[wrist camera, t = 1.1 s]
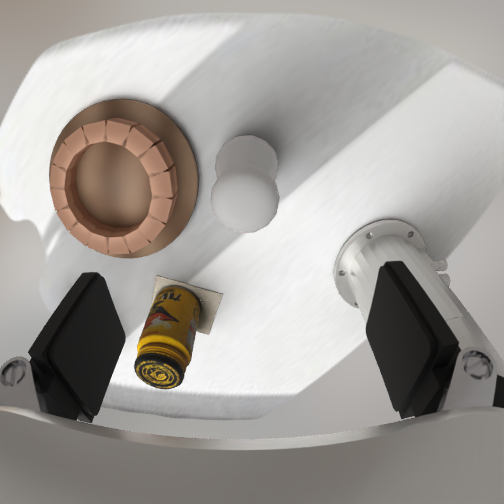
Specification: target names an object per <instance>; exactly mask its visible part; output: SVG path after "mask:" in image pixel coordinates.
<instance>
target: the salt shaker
mask: <svg viewBox="0 0 504 504" xmlns="http://www.w3.org/2000/svg"><path fill="white" fill-rule="evenodd" d="M278 165H279V164H278V160H277V156H276V152H275V150H274V149H273V148H272V147H271V146H270V145H269V144H268V143H267V142H266V141H265V140H263V139H260V138H258V137H255V136H253V135H247V136H237V137H235V138H233V139H231V140H230V141H228V142H226V143H225V144H224V145H223V146H222V148H221V149H220V151H219V152H218V154H217V157H216V164H215V171H216V174H217V178H218V179H217V181H216V182H215V184H214V186H213V187H212V194H211V206H212V209H213V212H214V214H215V217H216V219H217V220H218V221H219V222H220V223H221V224H222V225H223V226H224V227H225V228H227V229H230V230H233V231H236V232H238V233H250V232H256V231H258V230H260V229H262V228H264V227H266V226H267V225H268V224H269V223H270V222H271V220H272V219H273V218H274V217H275V215H276V213H277V208H278V203H279V198H280V197H279V193H278V189H277V186H276V183H275V180H276V177H277V171H278Z"/></svg>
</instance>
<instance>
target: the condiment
mask: <svg viewBox="0 0 504 504" xmlns="http://www.w3.org/2000/svg"><path fill="white" fill-rule="evenodd" d="M222 295H223V294H220V293H215V292H213V291H208V290H205V289H201V288H197V287H194V286H191V285H188V284H185V283H181V282H178V281H174V280H171V279H167V278H164V277H160V276H156V282H155V288H154V294H153V300H152V306H151V309H150V312H149V314H148V317H147V320H146V322H145V326H144V328H143V331H142V334H141V336H140V339H139V342H138V345H137V351H138V354H137V359H136V361H135V364H134V369H135V372H136V374H137V376H138V377H139V378H140V379H141V380H142V381H143V382H145V383H146V384H148V385H151V386H153V387H155V388H159V389H171V388H175V387H177V386H179V385H180V384H181V383H182V381H183V379H184V373H185V371H186V367H187V366H188V365H189V363H190V361H191V357H192V351H193V345H194V340H195V335H196V331H198V332H200V333H204V334H208V335H209V333H210V330H211V327H212V324H213V321H214V318H215V315H216V311H217V309H218V306H219V303H220V301H221V298H222ZM200 299H201V300H202V301H203V302H204V304H203V303H202V301H200Z"/></svg>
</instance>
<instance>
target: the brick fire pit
mask: <svg viewBox="0 0 504 504" xmlns="http://www.w3.org/2000/svg"><path fill="white" fill-rule="evenodd" d="M49 180H50V191H51V195H52V199H53V203H54V207H55V210H57V211H58V212H56V213H57V215H58V216H59V218H60V219H61V221H62V223H63V224H64V226H65V227H66V229H67V230H68V231H69V230H70V234H72V235H73V236H74V237H75V238H76V239H78V240H79V241H80V242H81V243H83V244H84V245H85V246H88V247H89V248H91V249H94V250H96V251H98V252H100V253H103V254H105V255H109V256H112V257H118V258H139V257H143V256H148V255H150V254H153V253H156V252H158V251H160V250H161V249H163V248H165V247H166V246H168V245H169V244H170V243H171V242H173V241H174V240H175V239H176V238H177V237H178V236H179V234H180V233H181V232H182V230H183V229H184V228H185V226H186V224H187V222H188V220H189V219H190V216H191V214H192V211H193V209H194V206H195V203H196V198H197V193H198V170H197V164H196V160H195V157H194V153H193V151H192V148H191V146H190V144H189V142H188V140H187V138H186V137H185V135H184V133H183V132H182V131H181V129H180V128H179V127H178V126H177V124H176V123H175V122H174V121H173V120H172V119H170V118H169V117H168V116H167V115H166V114H164V113H163V112H161V111H160V110H158V109H157V108H155V107H153V106H151V105H148V104H146V103H142V102H139V101H134V100H127V99H120V100H109V101H103V102H100V103H97V104H94V105H92V106H90V107H88V108H86V109H84V110H83V111H81V112H80V113H78V114H77V115H76V116H75V117H74V118H73V119H72V120H70V121H69V123H68V124H67V125H66V126H65V128H64V129H63V130H62V132H61V134H60V135H59V137H58V139H57V141H56V143H55V146H54V149H53V152H52V155H51V161H50V169H49Z"/></svg>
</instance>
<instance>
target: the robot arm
mask: <svg viewBox="0 0 504 504" xmlns="http://www.w3.org/2000/svg"><path fill="white" fill-rule="evenodd" d="M367 233H368V234H367ZM446 269H447V261H446V260H436V261H433V260H432V259H431V258H430V257H429V256H428V255H427V250H426V246H425V242H424V240H423V238H422V237H421V235H420V234H419V233H418V232H417V231H416V230H415V229H414V228H413V227H412V226H410V225H409V224H407V223H405V222H403V221H398V220H382V221H377V222H374V223H372V224H369V225H367V226H365V227H363V228H362V229H360V230H359V231H357V232H356V233H355V234H354V235H353V236H351V237H350V238H349V240H348V241H347V242H346V243H345V244H344V246H343V247H342V249H341V251H340V252H339V254H338V257H337V259H336V262H335V267H334V281H335V284H336V287H337V290H338V292H339V294H340V295H341V297H342V298H343V300H345V301H346V302H347V303H348V304H349V305H351V306H353V307H356V308H359V309H360V311H361V313H362V315H363V318H364V320H365V322H366V335H367V338H368V341H369V343H370V346H371V348H372V351H373V353H374V356H375V359H376V361H377V364H378V366H379V369H380V372H381V375H382V377H383V380H384V383H385V386H386V388H387V391H388V394H389V397H390V400H391V402H392V405H393V408H394V410H395V411H396V412H397V411H399V413H400V416H401V419H404V418H408V417H412V416H415V418H411V419H407V420H403V421H398V422H394V423H389V424H384V425H379V426H373V427H368V428H363V429H357V430H351V431H345V432H338V433H330V434H322V435H313V436H304V437H291V438H275V439H242V440H241V439H238V440H237V439H236V440H235V439H234V440H233V439H232V440H231V439H229V440H228V439H199V438H184V437H172V436H163V435H162V436H161V435H154V434H145V433H138V432H131V431H125V430H119V429H113V428H108V427H103V426H97V425H93V424H88V423H92V421H93V418H94V416H96V415H97V414H98V412H99V410H100V407H101V404H102V401H103V399H104V396H105V393H106V390H107V388H108V385H109V382H110V379H111V377H112V374H113V371H114V369H115V366H116V364H117V361H118V359H119V356H120V354H121V351H122V349H123V346H124V344H125V332H124V330H123V327H122V325H121V322H120V320H119V317H118V314H117V312H116V309H115V307H114V304H113V301H112V298H111V295H110V293H109V290H108V287H107V284H106V281H105V279H104V277H102V276H101V275H100V274H99V273H97V272H88V273H82V274H81V276H80V277H79V278H78V280H77V281H76V282H75V284H74V285H73V286H72V288H71V289H70V290H69V292H68V293H67V294H66V296H65V297H64V299H63V300H62V301H61V303H60V304H59V306H58V307H57V308H56V310H55V311H54V313H53V314H52V316H51V317H50V319H49V320H48V322H47V323H46V325H45V326H44V328H43V329H42V331H41V332H40V334H39V335H38V337H37V338H36V340H35V342H34V343H33V345H32V347H31V348H30V350H29V351H28V353H29V355H30V356H31V360H30V362H29V361H28V360H27V359H26V358H24V357H14V358H11V359H10V360H8V361H7V362H6V363H4V364H3V366H2V367H1V368H0V504H504V361H503V359H502V358H501V357H500V355H499V354H498V353H497V351H496V350H495V348H494V347H493V345H492V344H491V343H490V341H489V340H488V339H487V337H486V336H485V334H484V333H483V332H482V330H481V329H480V328H479V326H478V325H477V323H476V322H475V320H474V319H473V318H472V317H471V315H470V314H469V312H468V311H467V310H466V308H465V307H464V306H463V305H462V303H461V302H460V300H459V299H458V298H457V297H456V295H455V294H454V293H453V292H452V290H451V289H450V288H449V285H450V277H449V276H448V274H438V273H437V272H436V271H444V270H446ZM77 419H78V420H80V421H84V422H88V423H84V422H79V421H77Z"/></svg>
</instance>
